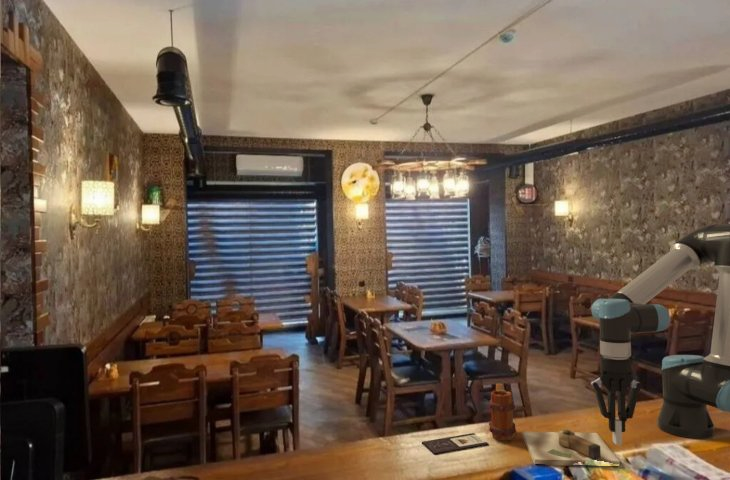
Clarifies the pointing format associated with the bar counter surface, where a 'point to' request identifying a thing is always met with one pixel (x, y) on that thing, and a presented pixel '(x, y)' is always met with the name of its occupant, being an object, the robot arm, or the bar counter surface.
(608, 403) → the robot arm
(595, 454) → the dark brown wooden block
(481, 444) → the chocolate bar
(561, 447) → the dial board
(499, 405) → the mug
